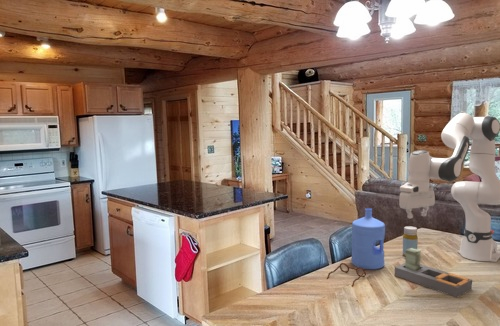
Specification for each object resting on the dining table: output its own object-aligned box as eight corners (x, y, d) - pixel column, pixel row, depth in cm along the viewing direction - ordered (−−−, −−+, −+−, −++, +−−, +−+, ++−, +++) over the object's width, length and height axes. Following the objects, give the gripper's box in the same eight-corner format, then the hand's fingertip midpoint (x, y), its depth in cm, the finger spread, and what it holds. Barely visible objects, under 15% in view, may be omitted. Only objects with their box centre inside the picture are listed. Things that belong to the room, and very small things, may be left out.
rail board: (410, 269, 184) (410, 260, 184) (471, 289, 162) (472, 279, 161) (394, 275, 177) (394, 266, 176) (456, 297, 154) (457, 287, 154)
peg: (410, 273, 180) (411, 247, 178) (419, 276, 176) (420, 250, 175) (405, 275, 177) (405, 250, 176) (414, 278, 173) (414, 252, 172)
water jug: (349, 267, 187) (350, 211, 184) (353, 257, 202) (354, 204, 199) (383, 272, 181) (384, 213, 178) (385, 260, 196) (386, 206, 193)
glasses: (366, 278, 175) (366, 268, 174) (352, 288, 165) (352, 276, 165) (340, 271, 184) (340, 261, 183) (325, 280, 174) (325, 269, 174)
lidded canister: (418, 258, 198) (419, 229, 197) (403, 257, 200) (404, 229, 198) (415, 253, 205) (416, 226, 203) (401, 253, 206) (402, 225, 205)
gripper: (426, 184, 181) (425, 213, 182) (397, 187, 171) (396, 218, 172) (439, 186, 175) (438, 216, 177) (409, 189, 165) (408, 220, 167)
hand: (417, 217), depth 174 cm, fingers open, 8 cm apart
